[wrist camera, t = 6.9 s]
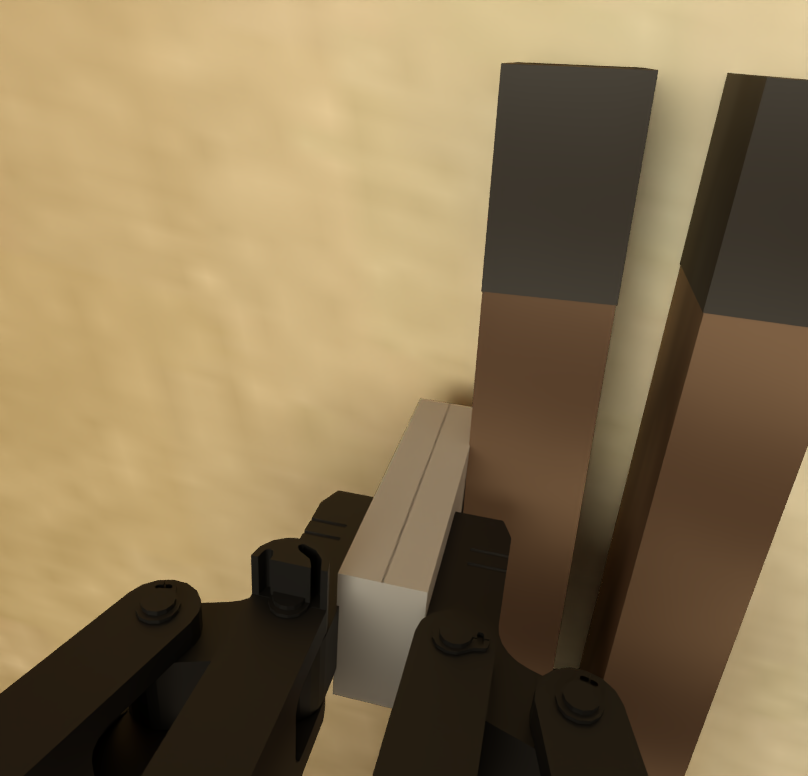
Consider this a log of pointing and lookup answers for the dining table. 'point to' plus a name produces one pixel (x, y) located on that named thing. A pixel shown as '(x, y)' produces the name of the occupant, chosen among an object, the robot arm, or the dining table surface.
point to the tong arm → (549, 319)
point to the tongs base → (713, 428)
